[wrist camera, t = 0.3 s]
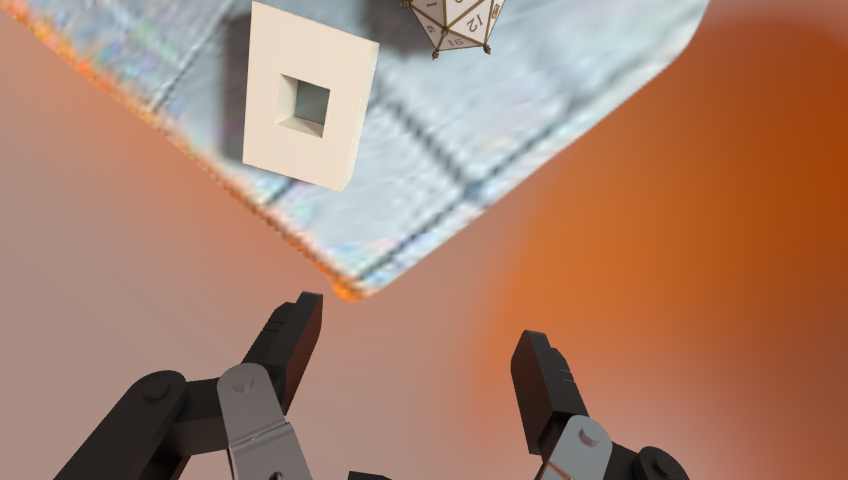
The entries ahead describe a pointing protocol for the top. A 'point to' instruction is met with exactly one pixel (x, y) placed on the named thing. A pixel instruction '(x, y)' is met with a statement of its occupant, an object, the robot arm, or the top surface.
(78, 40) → the top surface
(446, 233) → the top surface
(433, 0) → the game die
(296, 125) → the hole block
